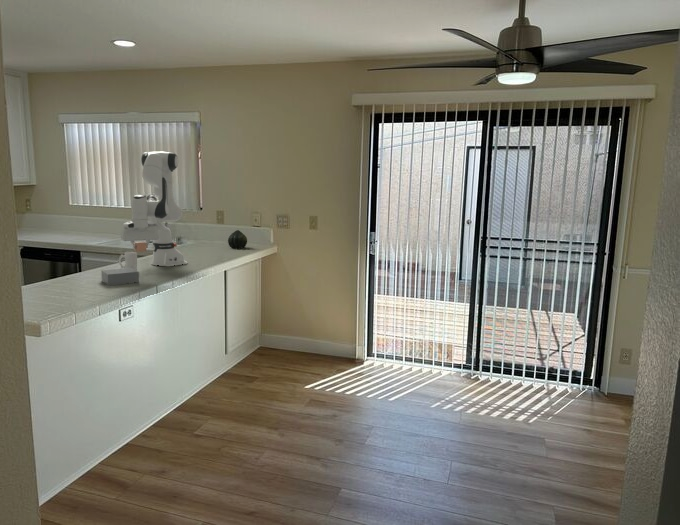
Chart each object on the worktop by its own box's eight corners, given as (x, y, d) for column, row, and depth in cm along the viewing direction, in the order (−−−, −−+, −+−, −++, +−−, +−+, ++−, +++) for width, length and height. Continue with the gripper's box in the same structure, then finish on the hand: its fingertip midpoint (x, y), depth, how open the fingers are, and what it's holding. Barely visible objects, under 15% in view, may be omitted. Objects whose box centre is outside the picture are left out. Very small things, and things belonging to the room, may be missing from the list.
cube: (143, 250, 298) (143, 241, 297) (146, 251, 294) (146, 242, 294) (134, 250, 295) (134, 242, 294) (137, 252, 291) (137, 243, 290)
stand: (131, 278, 293) (131, 267, 292) (138, 282, 284) (138, 271, 283) (101, 281, 283) (101, 270, 282) (108, 285, 274) (107, 274, 273)
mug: (137, 271, 312) (137, 251, 309) (136, 273, 305) (136, 253, 303) (119, 271, 309) (119, 251, 307) (118, 273, 302) (117, 253, 300)
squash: (235, 243, 401) (244, 228, 408) (221, 242, 409) (230, 227, 415) (245, 254, 411) (253, 238, 418) (231, 252, 419) (239, 237, 426)
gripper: (156, 223, 301) (156, 246, 303) (119, 223, 288) (120, 248, 290) (160, 224, 296) (160, 248, 299) (123, 225, 283) (123, 249, 286)
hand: (140, 248), depth 294 cm, fingers closed on cube, 5 cm apart
